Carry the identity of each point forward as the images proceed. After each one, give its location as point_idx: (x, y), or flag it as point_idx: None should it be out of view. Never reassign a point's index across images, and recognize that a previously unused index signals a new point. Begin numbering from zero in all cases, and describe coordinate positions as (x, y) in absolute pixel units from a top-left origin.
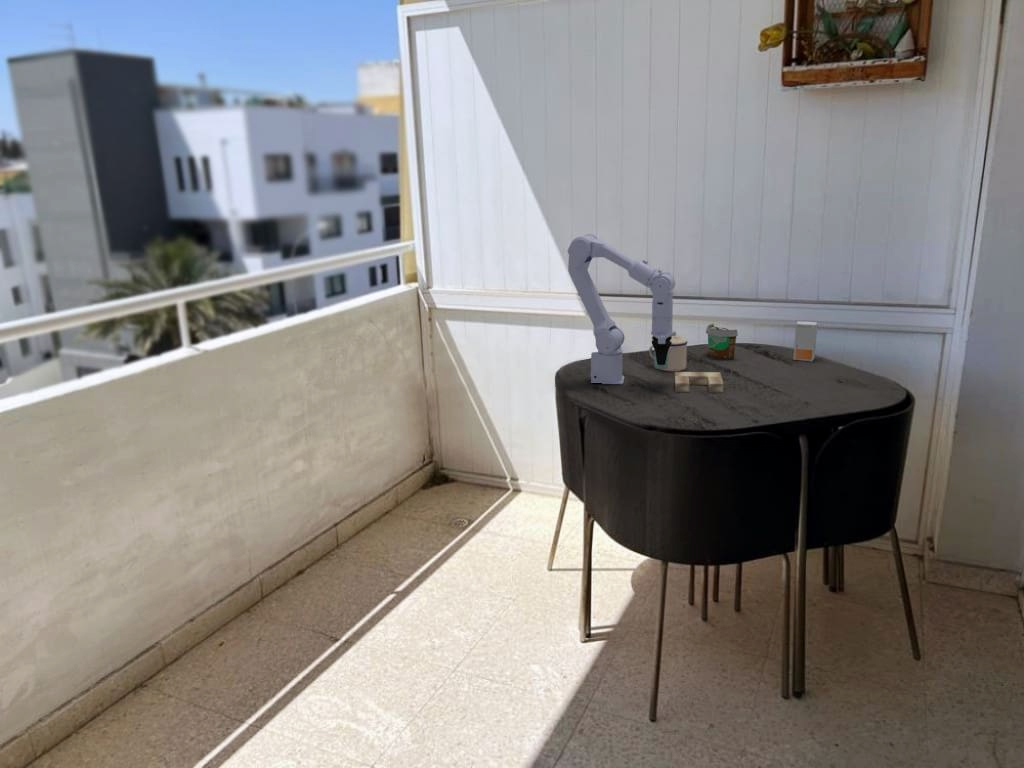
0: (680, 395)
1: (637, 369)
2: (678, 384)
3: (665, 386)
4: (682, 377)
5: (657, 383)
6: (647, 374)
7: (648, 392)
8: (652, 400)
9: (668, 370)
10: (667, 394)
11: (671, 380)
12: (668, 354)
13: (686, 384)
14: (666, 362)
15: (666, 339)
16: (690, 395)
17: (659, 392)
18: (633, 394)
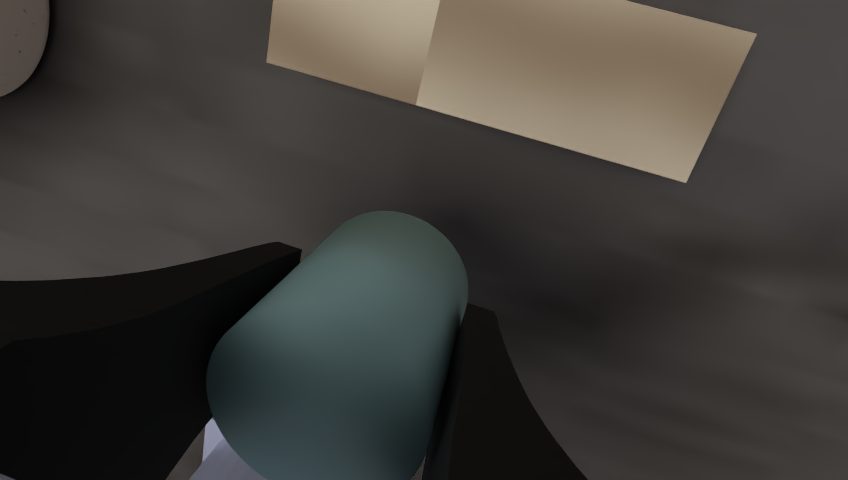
0: (797, 151)
1: (24, 252)
2: (696, 151)
3: (477, 194)
4: (485, 41)
5: None
6: (141, 225)
7: (605, 363)
8: (831, 405)
9: (46, 39)
10: (716, 250)
11: (311, 90)
12: (362, 288)
13: (735, 66)
14: (444, 284)
15: (50, 426)
16: (844, 53)
17: (633, 291)
18: (619, 463)
